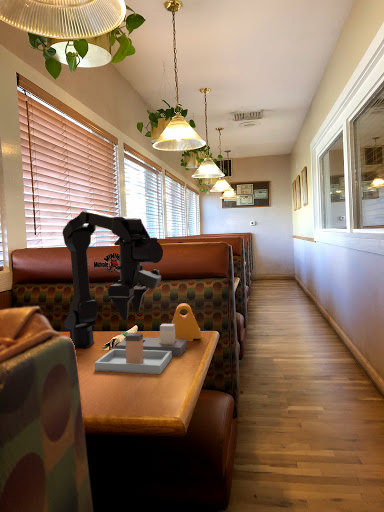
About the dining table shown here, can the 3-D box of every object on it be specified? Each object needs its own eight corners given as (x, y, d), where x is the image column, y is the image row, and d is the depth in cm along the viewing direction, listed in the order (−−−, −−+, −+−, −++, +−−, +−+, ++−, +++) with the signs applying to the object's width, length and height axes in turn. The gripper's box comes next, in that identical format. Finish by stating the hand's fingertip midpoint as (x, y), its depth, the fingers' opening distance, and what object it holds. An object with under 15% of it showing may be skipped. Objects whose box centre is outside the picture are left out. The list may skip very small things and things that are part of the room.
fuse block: (116, 353, 113) (116, 345, 112) (127, 344, 121) (127, 337, 121) (180, 355, 109) (180, 347, 108) (187, 346, 117) (187, 338, 117)
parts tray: (94, 370, 98) (94, 362, 98) (113, 356, 110) (112, 348, 110) (160, 374, 95) (159, 365, 95) (171, 358, 106) (171, 351, 106)
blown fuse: (126, 364, 101) (125, 335, 101) (130, 360, 104) (129, 332, 104) (140, 365, 101) (139, 335, 100) (143, 361, 103) (142, 333, 103)
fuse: (160, 351, 113) (159, 325, 113) (163, 349, 116) (162, 323, 115) (173, 352, 112) (172, 326, 112) (175, 349, 115) (174, 324, 114)
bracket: (199, 335, 131) (198, 301, 130) (200, 340, 124) (199, 305, 123) (169, 336, 131) (168, 302, 130) (168, 342, 123) (167, 306, 123)
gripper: (146, 264, 93) (147, 326, 95) (166, 259, 112) (167, 310, 113) (105, 264, 96) (107, 324, 97) (131, 259, 114) (133, 309, 115)
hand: (131, 316), depth 105 cm, fingers open, 9 cm apart
